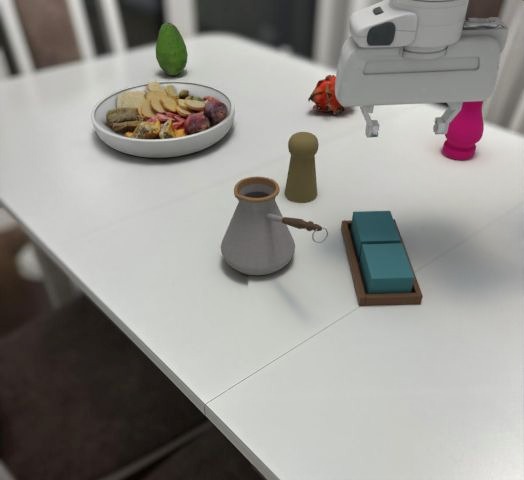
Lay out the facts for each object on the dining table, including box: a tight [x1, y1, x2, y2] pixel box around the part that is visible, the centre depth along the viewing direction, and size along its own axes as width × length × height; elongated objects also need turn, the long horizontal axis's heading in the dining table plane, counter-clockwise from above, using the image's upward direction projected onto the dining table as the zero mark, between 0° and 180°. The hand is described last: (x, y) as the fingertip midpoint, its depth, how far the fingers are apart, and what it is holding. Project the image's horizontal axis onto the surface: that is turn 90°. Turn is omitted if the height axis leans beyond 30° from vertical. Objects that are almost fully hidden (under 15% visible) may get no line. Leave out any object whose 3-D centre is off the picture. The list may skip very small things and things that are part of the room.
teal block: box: [359, 243, 415, 294], centre depth 77 cm, size 6×8×4 cm
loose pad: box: [350, 210, 401, 262], centre depth 83 cm, size 6×8×4 cm
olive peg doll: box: [284, 131, 319, 204], centre depth 93 cm, size 6×6×11 cm
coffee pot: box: [220, 175, 329, 276], centre depth 75 cm, size 21×12×15 cm, turn 31°
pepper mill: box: [441, 68, 500, 161], centre depth 100 cm, size 7×7×20 cm
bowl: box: [90, 80, 236, 159], centre depth 112 cm, size 30×30×8 cm
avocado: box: [155, 21, 189, 76], centre depth 133 cm, size 8×8×12 cm
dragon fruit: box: [307, 74, 350, 116], centre depth 118 cm, size 8×8×12 cm
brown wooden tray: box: [340, 218, 423, 307], centre depth 81 cm, size 9×19×2 cm, turn 2°
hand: (405, 134), depth 73 cm, fingers open, 8 cm apart
